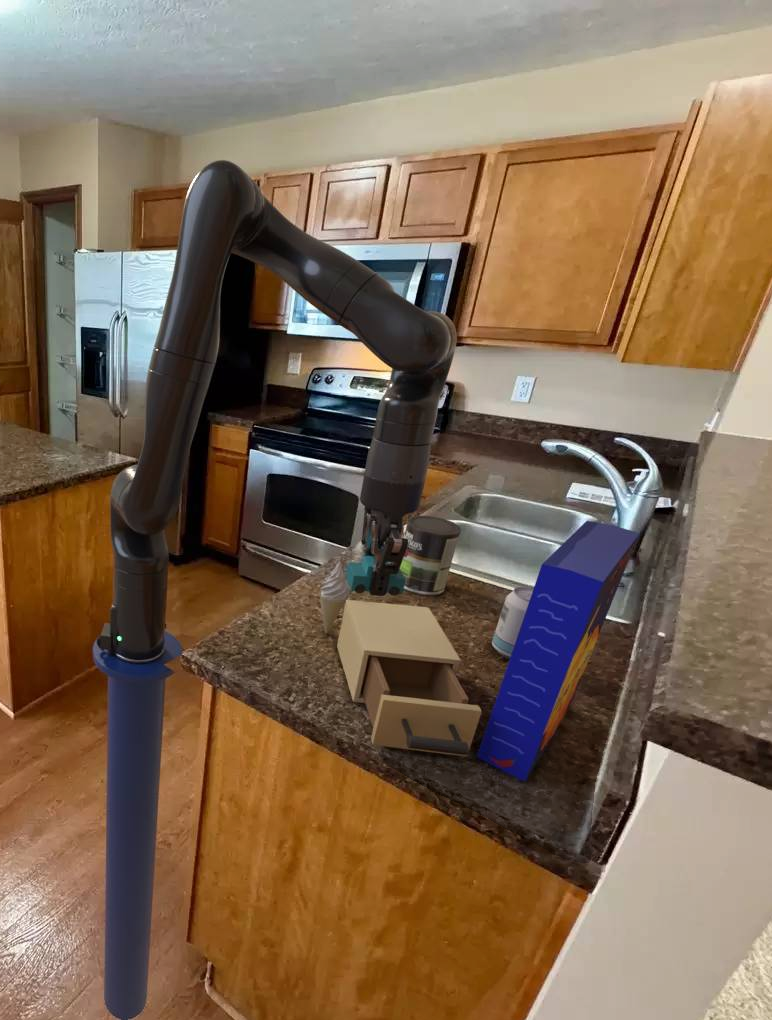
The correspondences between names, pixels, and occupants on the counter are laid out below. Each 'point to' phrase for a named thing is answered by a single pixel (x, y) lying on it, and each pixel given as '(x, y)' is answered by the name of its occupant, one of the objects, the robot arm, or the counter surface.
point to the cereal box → (555, 644)
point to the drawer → (418, 706)
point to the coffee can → (428, 553)
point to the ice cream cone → (333, 596)
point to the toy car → (362, 573)
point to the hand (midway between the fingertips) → (372, 585)
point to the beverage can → (511, 620)
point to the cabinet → (389, 638)
